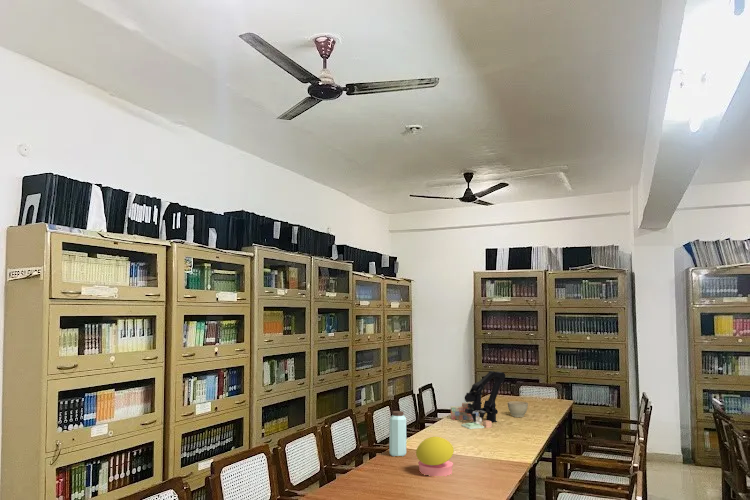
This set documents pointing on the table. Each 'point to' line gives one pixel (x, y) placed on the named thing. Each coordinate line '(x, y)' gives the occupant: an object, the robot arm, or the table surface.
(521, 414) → the planter bowl
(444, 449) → the yellow egg on stand
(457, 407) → the stack of blocks
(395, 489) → the table surface
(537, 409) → the table surface
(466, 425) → the baseplate
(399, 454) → the water bottle
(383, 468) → the table surface
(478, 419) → the cream brick
